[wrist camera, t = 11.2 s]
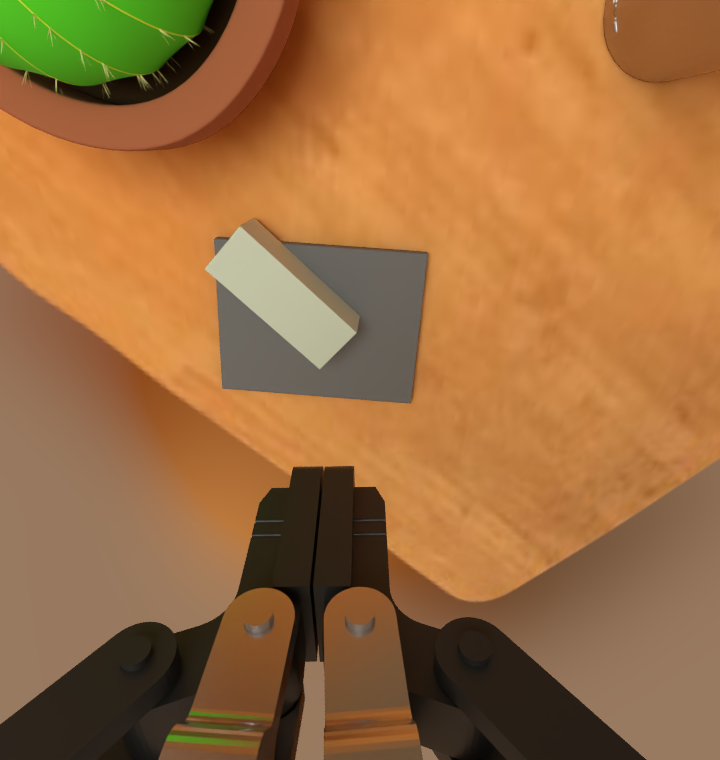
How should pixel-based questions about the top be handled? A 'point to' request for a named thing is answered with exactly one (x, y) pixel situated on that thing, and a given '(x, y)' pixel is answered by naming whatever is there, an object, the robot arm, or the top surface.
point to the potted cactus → (137, 66)
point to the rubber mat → (360, 354)
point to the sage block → (284, 293)
